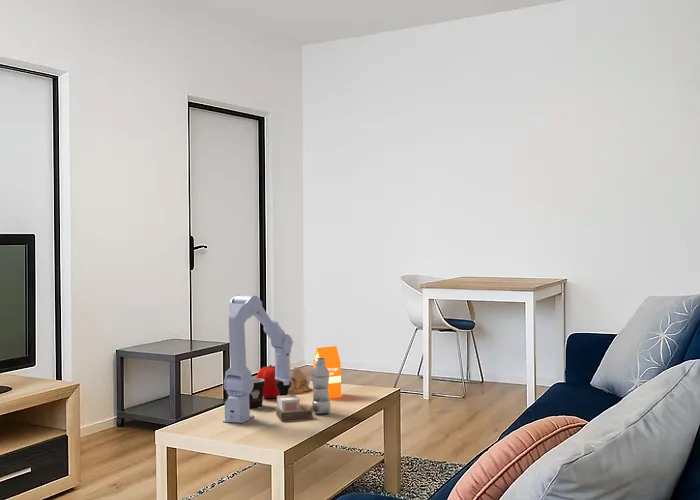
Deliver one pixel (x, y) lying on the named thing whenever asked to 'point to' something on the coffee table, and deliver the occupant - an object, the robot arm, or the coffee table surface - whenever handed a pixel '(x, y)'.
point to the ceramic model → (298, 382)
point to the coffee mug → (256, 394)
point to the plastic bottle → (320, 387)
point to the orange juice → (331, 369)
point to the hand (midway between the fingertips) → (283, 400)
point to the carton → (288, 403)
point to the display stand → (294, 414)
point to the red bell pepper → (268, 381)
